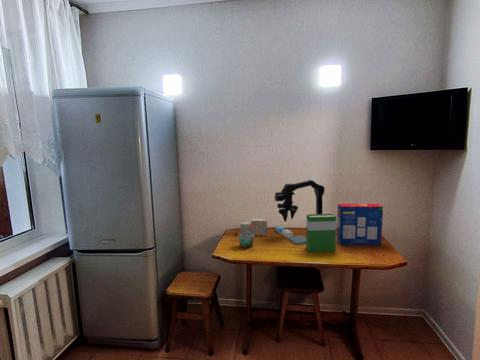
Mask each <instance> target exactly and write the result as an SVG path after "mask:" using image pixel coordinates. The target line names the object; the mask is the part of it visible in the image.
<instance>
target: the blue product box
mask: <svg viewBox="0 0 480 360" xmlns="http://www.w3.org/2000/svg"><path fill="white" fill-rule="evenodd" d="M383 211H384V206H383V205H381V204H379V203H337V219H336V241H337V243H338V245H339V246H340V245H343V246H344V245H345V246H376V247H377V246H378V247H379V246H380V247H381V246H382V232H383V231H382V230H383V228H382V227H383V217H384V216H383V215H384V214H383V213H384V212H383Z"/></svg>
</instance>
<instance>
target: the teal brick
mask: <svg viewBox="0 0 480 360" xmlns="http://www.w3.org/2000/svg"><path fill="white" fill-rule="evenodd" d="M282 230H286V228H285V227H284V226H282V225H276V226H275V228H274V232H276V233H278V234H282Z"/></svg>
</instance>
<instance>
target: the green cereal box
mask: <svg viewBox="0 0 480 360" xmlns="http://www.w3.org/2000/svg"><path fill="white" fill-rule="evenodd" d="M305 230H306V232H305V234H306V236H305V237H306V243H305V245H306V246H305V247H306V250H307V251H308V252H309V253H323V252H325V253H327V252H330V253H332V252H336V243H337V242H336V241H337V216H335V215H333V213H322V214H316V213H313V214H306V229H305Z"/></svg>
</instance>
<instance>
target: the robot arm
mask: <svg viewBox="0 0 480 360" xmlns="http://www.w3.org/2000/svg"><path fill="white" fill-rule="evenodd" d="M307 187H311V188H312V189H313V191H314V194H315V214H323V196H324V194H325V186H323V185H321V184H318V183H317V182H315V181H314V180H312V179H307V180H305V181H301V182H296V183H285V184H284V186H283V188H282V190H281V191H280V192H275V194H274V201H275V202H280V203H277V205H276V206H277V208H278V213H279V214H280V215H281V216H282V217H283V218H282V219H283V221H284V222H285V223H286V222H287V219H288V217H289V213H290V219H291V220H293V218H294V217H295V215H296V213H297V212H298V210H299V206H298V205H295V204H294V201H293V196H295V195H296V193H295V191H296V190H298V189H303V188H307ZM281 202H283V203H281Z"/></svg>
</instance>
